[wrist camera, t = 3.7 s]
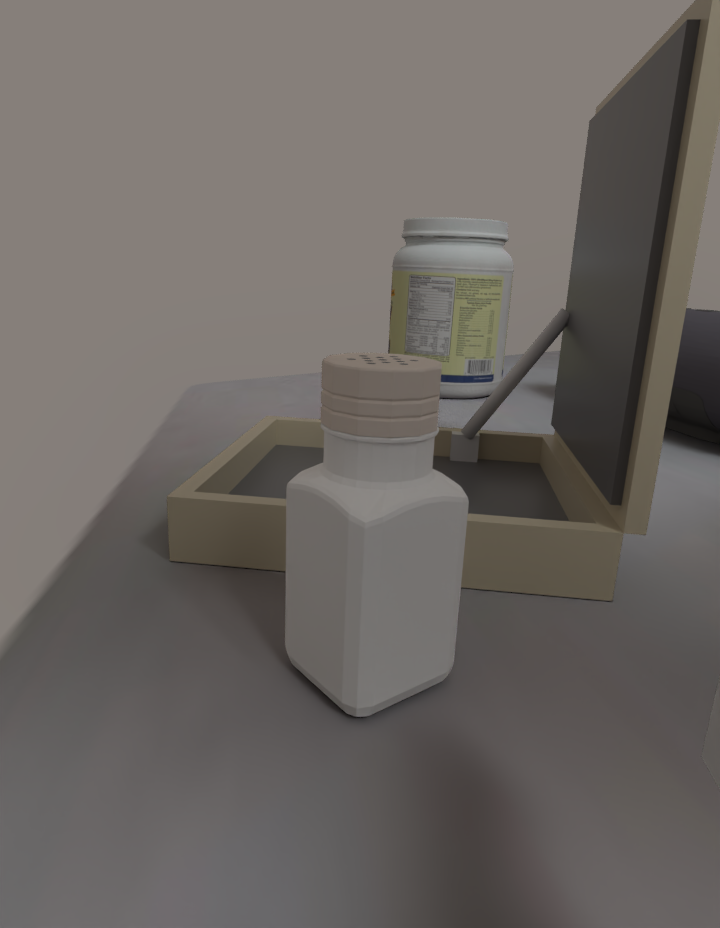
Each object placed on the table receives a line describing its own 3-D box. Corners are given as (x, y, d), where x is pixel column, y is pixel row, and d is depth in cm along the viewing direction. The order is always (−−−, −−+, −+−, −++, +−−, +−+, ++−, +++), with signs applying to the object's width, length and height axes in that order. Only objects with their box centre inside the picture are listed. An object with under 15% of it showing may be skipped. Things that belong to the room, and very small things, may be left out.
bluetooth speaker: (855, 466, 46) (893, 323, 43) (745, 470, 44) (778, 319, 41) (649, 403, 67) (666, 303, 65) (568, 403, 65) (582, 301, 62)
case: (633, 603, 25) (744, -23, 19) (169, 560, 27) (143, -20, 21) (561, 480, 40) (612, 107, 34) (266, 458, 42) (266, 102, 36)
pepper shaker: (460, 682, 20) (491, 366, 17) (354, 733, 17) (370, 375, 15) (376, 624, 23) (392, 348, 20) (276, 661, 20) (278, 353, 18)
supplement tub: (412, 376, 77) (421, 225, 73) (514, 388, 72) (531, 226, 68) (366, 391, 67) (373, 215, 62) (481, 406, 62) (499, 215, 57)
